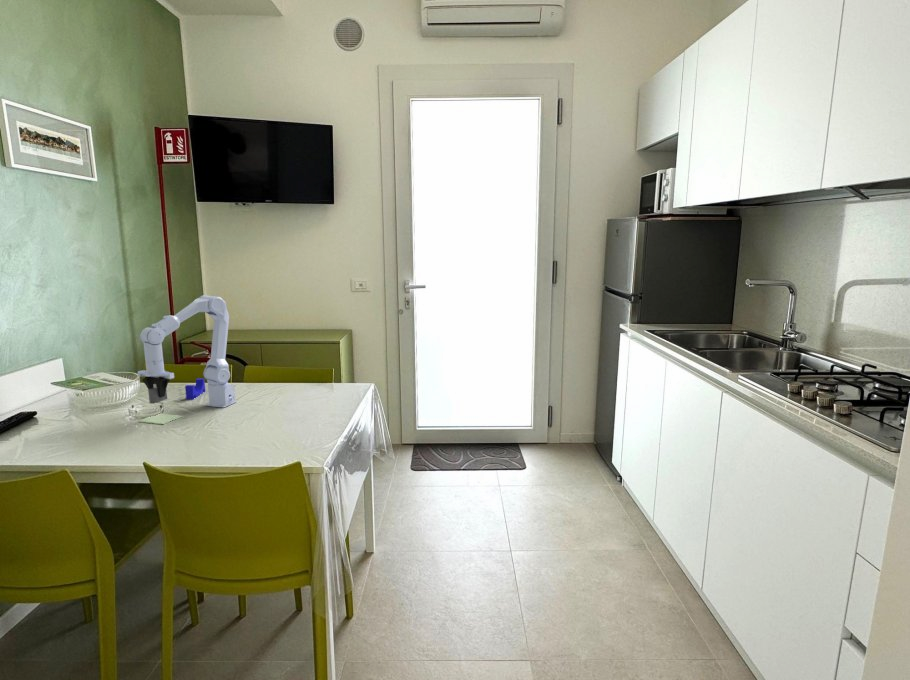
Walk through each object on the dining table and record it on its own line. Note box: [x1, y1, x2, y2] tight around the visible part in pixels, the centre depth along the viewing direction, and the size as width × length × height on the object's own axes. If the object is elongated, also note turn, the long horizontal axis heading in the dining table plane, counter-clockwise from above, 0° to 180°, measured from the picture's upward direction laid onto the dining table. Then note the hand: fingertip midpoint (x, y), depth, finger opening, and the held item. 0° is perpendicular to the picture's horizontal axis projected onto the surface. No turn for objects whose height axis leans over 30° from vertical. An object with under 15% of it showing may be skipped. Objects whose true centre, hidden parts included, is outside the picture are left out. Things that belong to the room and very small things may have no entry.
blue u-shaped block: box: [184, 378, 206, 400], centre depth 229 cm, size 12×4×6 cm, turn 3°
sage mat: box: [138, 413, 183, 425], centre depth 199 cm, size 11×9×1 cm
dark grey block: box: [147, 384, 168, 404], centre depth 197 cm, size 3×7×6 cm, turn 164°
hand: (158, 396), depth 197 cm, fingers closed on dark grey block, 3 cm apart
